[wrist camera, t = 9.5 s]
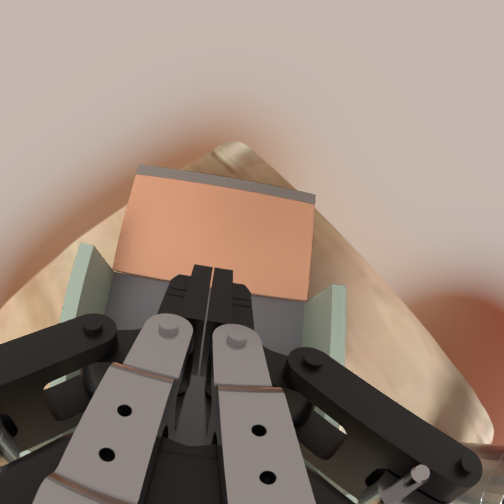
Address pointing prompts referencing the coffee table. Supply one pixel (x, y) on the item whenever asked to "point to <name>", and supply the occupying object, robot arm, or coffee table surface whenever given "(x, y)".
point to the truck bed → (148, 303)
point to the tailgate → (218, 230)
